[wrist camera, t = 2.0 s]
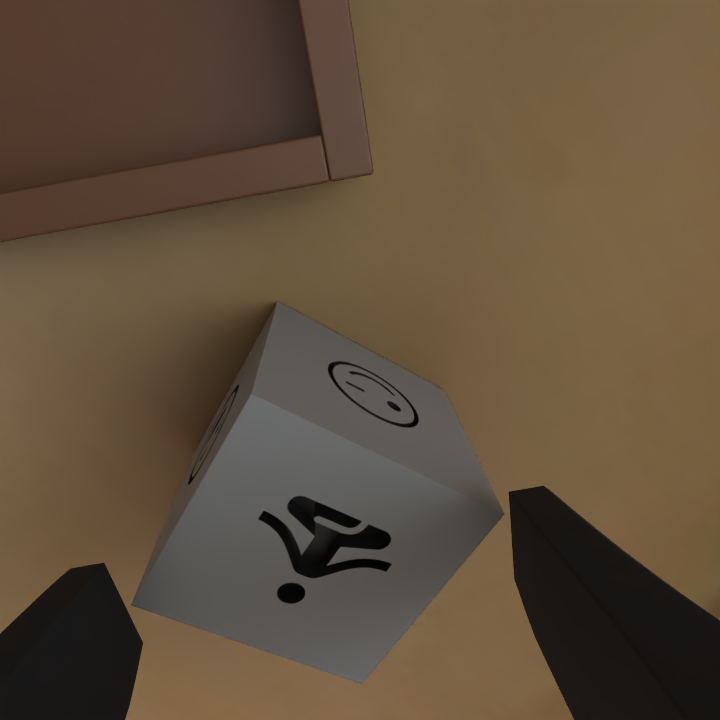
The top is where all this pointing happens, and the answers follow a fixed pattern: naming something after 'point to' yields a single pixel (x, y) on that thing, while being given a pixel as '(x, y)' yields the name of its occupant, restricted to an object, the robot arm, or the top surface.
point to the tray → (171, 106)
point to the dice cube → (320, 504)
